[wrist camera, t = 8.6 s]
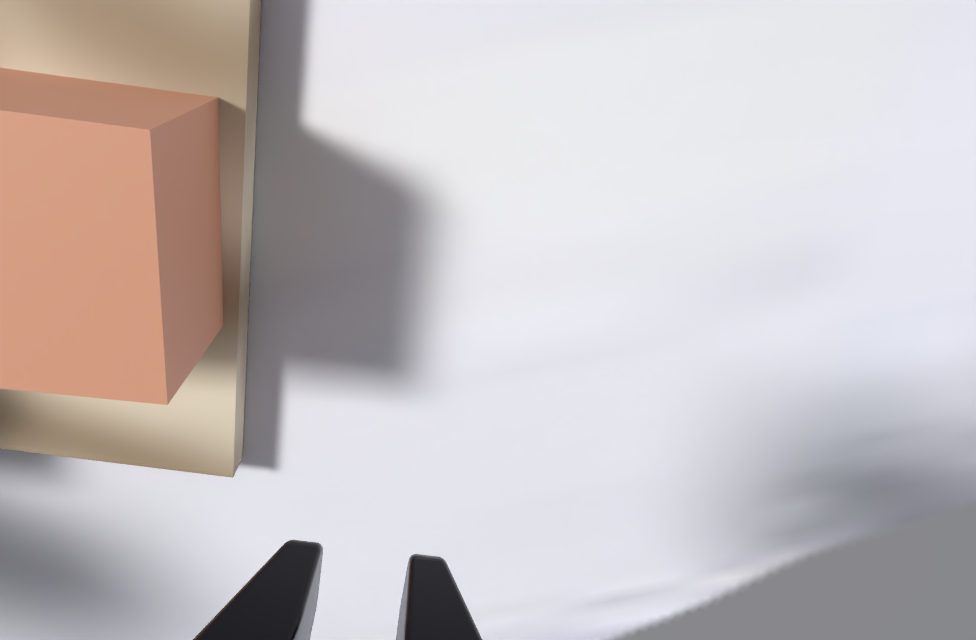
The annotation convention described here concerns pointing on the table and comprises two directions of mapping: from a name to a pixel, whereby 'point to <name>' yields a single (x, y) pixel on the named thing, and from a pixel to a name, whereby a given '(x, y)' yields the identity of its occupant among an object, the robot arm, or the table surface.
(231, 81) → the shelf
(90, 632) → the table surface
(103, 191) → the pink rectangular block
